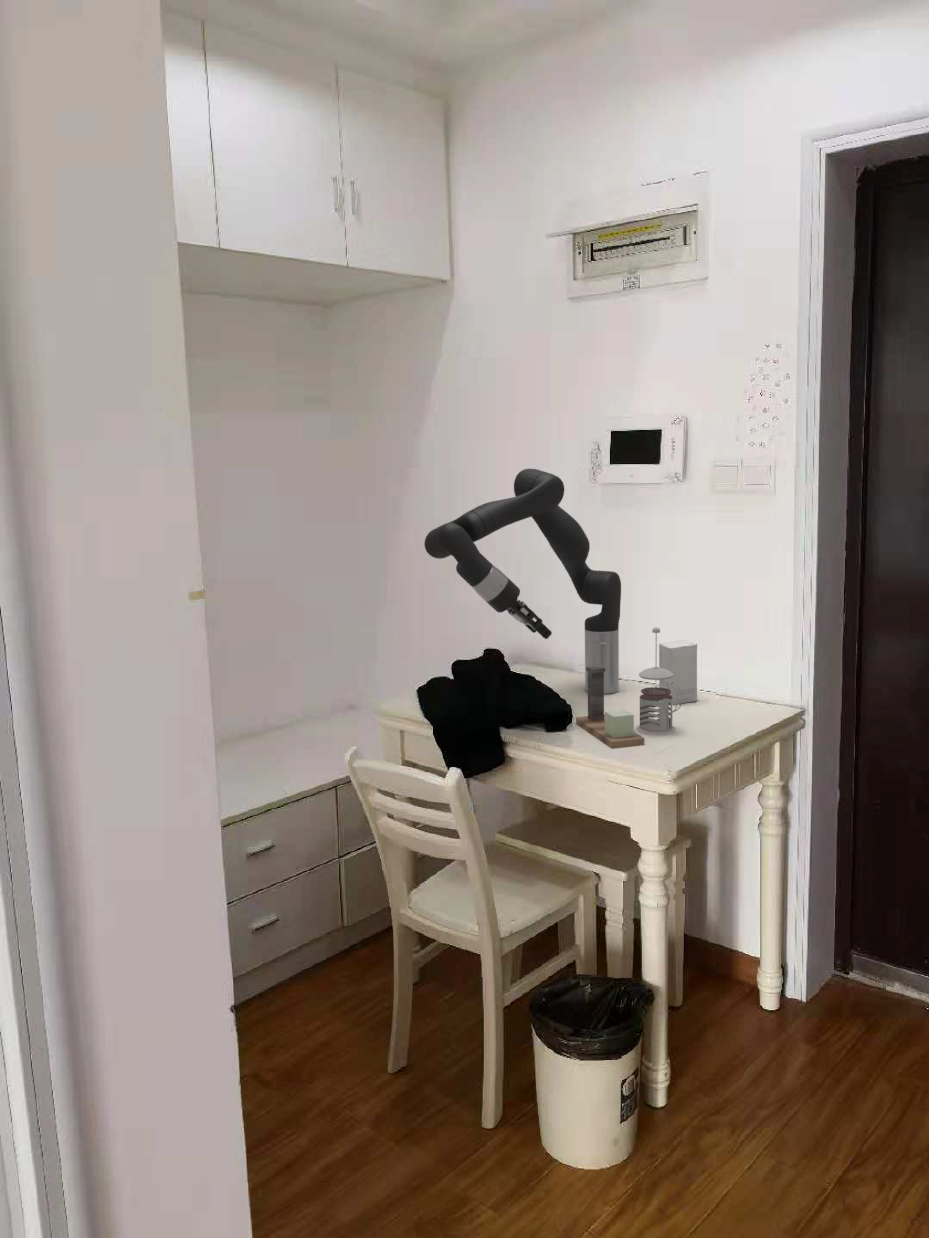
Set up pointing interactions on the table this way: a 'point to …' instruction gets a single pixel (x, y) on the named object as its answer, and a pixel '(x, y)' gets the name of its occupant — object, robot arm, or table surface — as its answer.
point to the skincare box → (680, 669)
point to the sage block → (619, 723)
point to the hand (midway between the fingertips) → (542, 632)
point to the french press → (656, 701)
